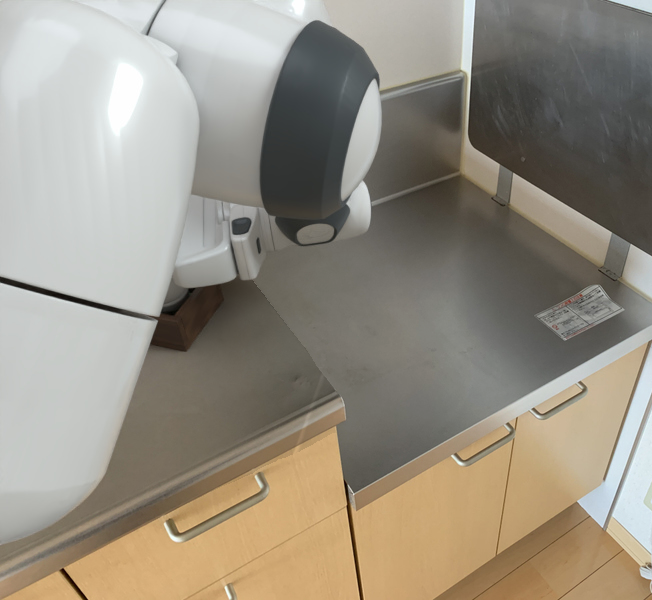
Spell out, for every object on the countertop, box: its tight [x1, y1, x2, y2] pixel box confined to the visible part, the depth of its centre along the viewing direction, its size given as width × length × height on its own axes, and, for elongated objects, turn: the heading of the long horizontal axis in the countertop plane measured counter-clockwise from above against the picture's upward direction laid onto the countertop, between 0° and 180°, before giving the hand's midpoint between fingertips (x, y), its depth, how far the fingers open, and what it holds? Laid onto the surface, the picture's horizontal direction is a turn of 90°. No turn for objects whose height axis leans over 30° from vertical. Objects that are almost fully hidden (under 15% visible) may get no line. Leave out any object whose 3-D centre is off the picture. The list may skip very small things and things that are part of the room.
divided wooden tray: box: [140, 284, 225, 352], centre depth 87 cm, size 11×21×6 cm, turn 75°
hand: (136, 235), depth 78 cm, fingers closed on travel mug, 6 cm apart
